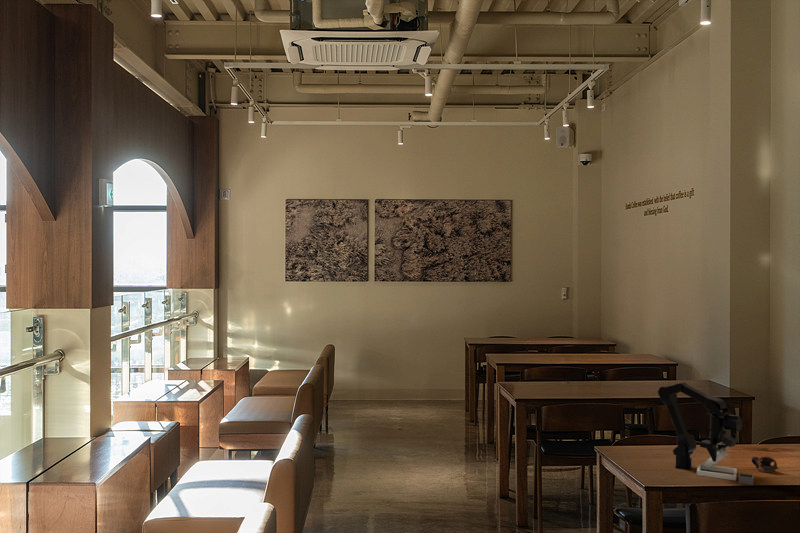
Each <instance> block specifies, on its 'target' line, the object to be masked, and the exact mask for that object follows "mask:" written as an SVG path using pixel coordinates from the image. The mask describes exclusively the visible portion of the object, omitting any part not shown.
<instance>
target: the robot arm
mask: <svg viewBox="0 0 800 533" xmlns="http://www.w3.org/2000/svg"><path fill="white" fill-rule="evenodd" d="M679 393H683V394H684V395H685V396H688V397H690V398H692V399H694V400H695V401H697V402H699V403H701V404H703V406H704V408H706V409H707V410H708V412H707V413H705V416H707V417H710V419H709V421H710V422H709V423H710V424H709V425H710V427H708V429H707V430H708V432H710V433H709V437H707V439H704V440H701V441H700V442H699V447H700V448H703V449H706V450H707V452H708V454H709V456H710V457H711V458H712V460H713V462H716V457H717V452H718V451H719V450H720V449H721V448H725V449H727V448H728V447H729V448H732V447H735V446H736V443H739V436H738V435H737V434H736V433H733V434H728V432H727V430H731V431H736V432H740V431H741V430H742V428H743V420H742V419H741V416H740V415H737V414H735V415H734V414H732V413H731V410H730V409H729V408H728V406H727V403H726V401H725V400H724V399H722V398H719V397H716V396H711V395H708V394H706V393H705V392H703V391H701V390H699V389H697V388H695V387H693V386H691V385H689V384H688V383H686V382H684V381H683V382H682V381H681V382H678V383H675V384H672V385H665V386H661V387H659V388H658V390H657V394H658V397H659V399H660V401H662V402H663V404H664V405H665V406H666V407H667V410H668V413H669V417H670V419H671V422H672V425H673V427H674V430H675V433H676V445H677V447H675V448H673V450H672V453H673V455H674V456H675V466H674V467H676V468H675V469H680V468H682V470H688V469H690V470H691V468H692V467H693V463H692V462H693V458H692V457H691V455H693V454H694V452H695V451H696V449H697V444H698V442H697V441H696V438H695V435H694V434H690V433H689V432H688V430H687V427H686V425H685V422H684V420H683V419H684V418H683V416H682V414H681V411H680V409H679V406H678V404H677V403H678V395H677V394H679Z"/></svg>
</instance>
